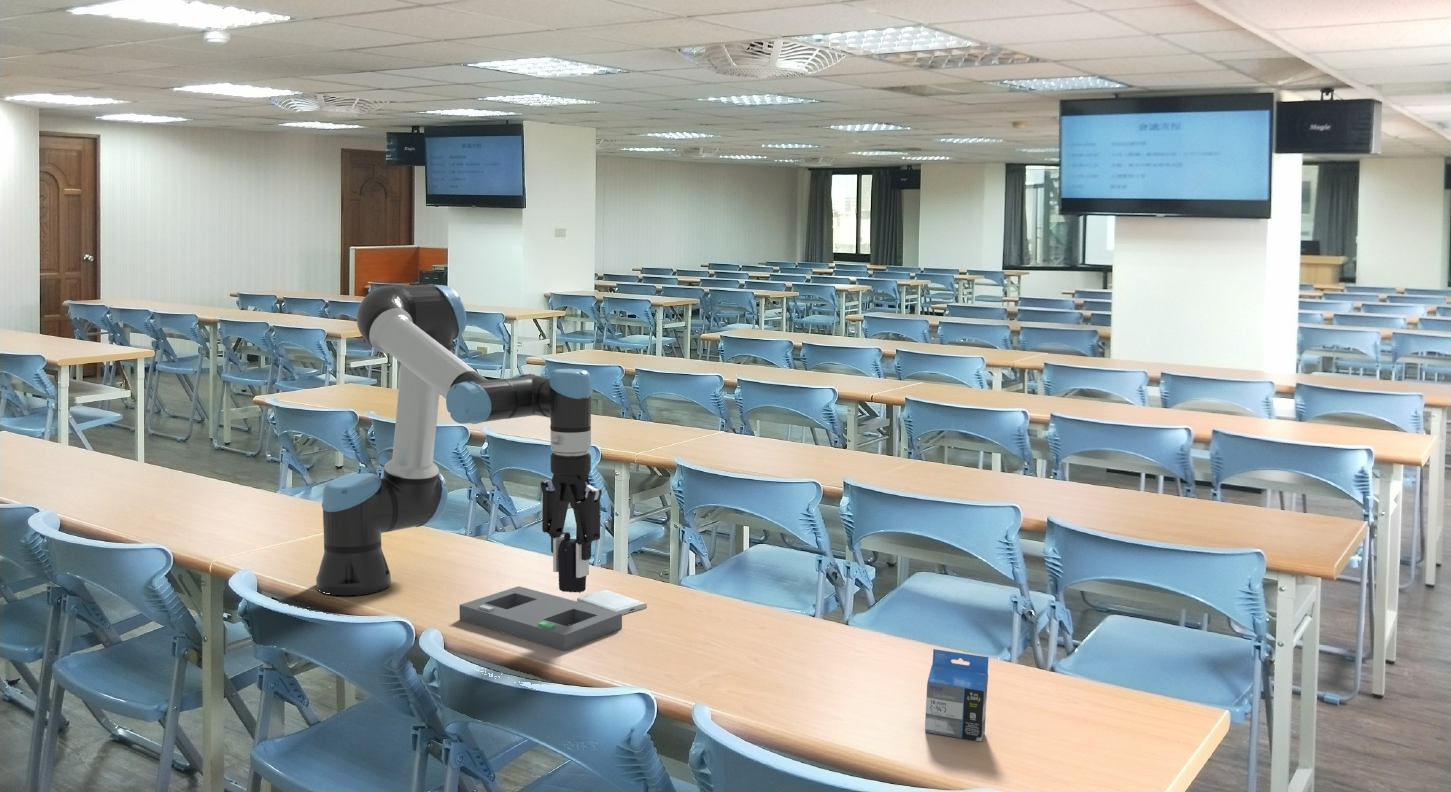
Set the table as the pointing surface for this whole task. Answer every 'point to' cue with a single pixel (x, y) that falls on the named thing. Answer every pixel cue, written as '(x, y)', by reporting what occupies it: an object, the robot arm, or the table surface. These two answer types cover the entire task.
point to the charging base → (541, 617)
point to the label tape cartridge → (957, 695)
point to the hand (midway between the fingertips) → (570, 573)
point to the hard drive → (612, 601)
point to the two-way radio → (569, 566)
